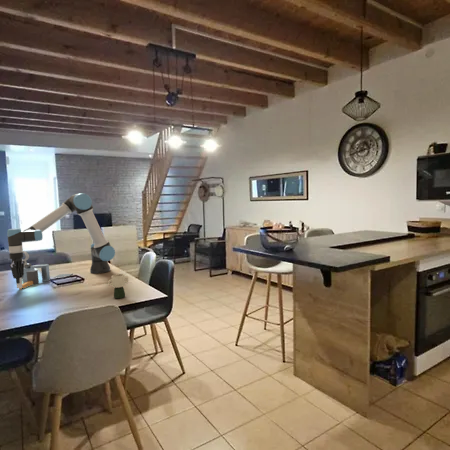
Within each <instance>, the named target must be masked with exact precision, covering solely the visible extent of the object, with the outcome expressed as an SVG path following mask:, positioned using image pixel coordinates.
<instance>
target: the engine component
mask: <svg viewBox="0 0 450 450" xmlns="http://www.w3.org/2000/svg"><path fill="white" fill-rule="evenodd" d="M22 252H23V255H25V258H24V259H23V258H22V261H25V263H24V266H25V265H26V264H28V262H27V261H28V260H29V258H30V255H29V253H28V252H27V251H25V250H23V251H22ZM24 268H25V267H24ZM22 278H23V277H22Z"/></svg>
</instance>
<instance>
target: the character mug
mask: <svg viewBox="0 0 450 450" xmlns="http://www.w3.org/2000/svg"><path fill="white" fill-rule="evenodd" d="M125 275H126V274H124V273H117V274H113V275H111V278H110V279H109V280H108V281H107V282H108V283H107V284H108V287H109V286H112V287H113V288H114V289H113V298H114V299H122V298H125V297H126V292H125V289H124V287H125V286H126V283H129V277H128V276H125Z"/></svg>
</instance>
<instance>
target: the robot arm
mask: <svg viewBox="0 0 450 450" xmlns="http://www.w3.org/2000/svg"><path fill="white" fill-rule="evenodd" d="M92 203H93V200H92V198H91V196H90V195H88V194H87V193H82V192H81V193H76V194H72V195H71V196H69V197H68V198H67V199H66V200H65V201H63V202H62V203H61V205H60V206H59V207H56V208H55V209H54V210H53V211H52V212H50V213H48V214H47V215H46V216H44V217H42V218H41V219H39V220H38V221H37V222H35V223H34V224H32V225H31V226H30V227H28V228H26V229H24V230H21V228H19V227H18V228H9V229H7V236H6V237H7V243H8V252H9V259H10V260H11V264H9V267H10V270H11V274H12V277H13V279H15V281H16V283H15V284H16V289H19V288H22V284H23V279H22V277H23V275H24V263H25V261H22V259H23V258H24V253H23V252H22V251H24V249H23V243H31V242H39V241H42V240H43V236H44V235H43V232H45V231H46V230H47V229H49V228H50V227H52V226H53V225H54V224H56V223H57V222H58V221H60V220H61V219H63V218H64V217H66V216H67V215H70V214H72V213H74V212H76V214H77V215H78V216H80V218H81V219H82V221H83V223H84V225H85V227H86V230H87V232H88V235H89V236H90V238H91V240H92V242H93V243H91V244H90V254H91V266H90V269H89V271H90V274H102V273H109V272H110V271H111V266H110V265H109V261H112V260H113V259H114V257H115V256H116V249H115V248H114V247H113V246H112V245H111V244H110V241H109V240H107V239H106V237H105V236H104V234H103V231H102V229H101V227H100V225H99V223H98V220H97V218H96V216H95V214H94V212H93V210H94V206H93V204H92Z"/></svg>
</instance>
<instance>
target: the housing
mask: <svg viewBox="0 0 450 450" xmlns="http://www.w3.org/2000/svg"><path fill="white" fill-rule="evenodd" d="M24 267H25V268H24V275H23V279H22V283H26V282H27V272H28V271H31V270H35V269H41V279H42V280H41V281H42V282H48V280H49V279H51V275H50V264H49V263H48V264H34V265H32V263H27V264H26V265H25V266H24ZM49 281H50V280H49Z"/></svg>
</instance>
